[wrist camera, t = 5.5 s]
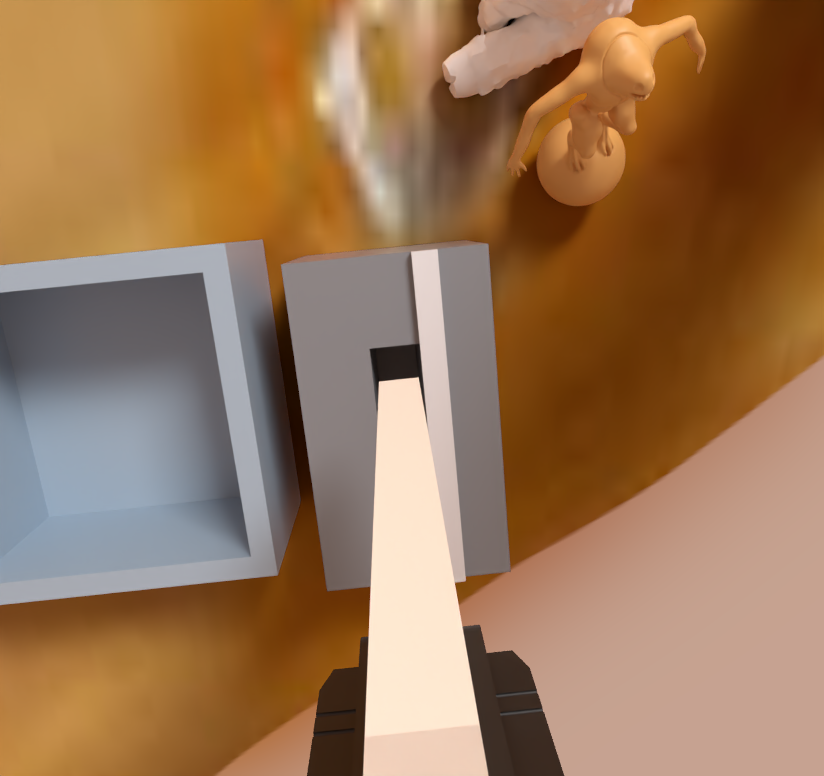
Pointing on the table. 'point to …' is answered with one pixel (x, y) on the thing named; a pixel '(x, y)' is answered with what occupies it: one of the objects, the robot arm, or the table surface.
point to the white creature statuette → (523, 39)
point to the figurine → (599, 108)
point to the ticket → (414, 611)
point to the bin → (141, 423)
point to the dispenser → (392, 360)
